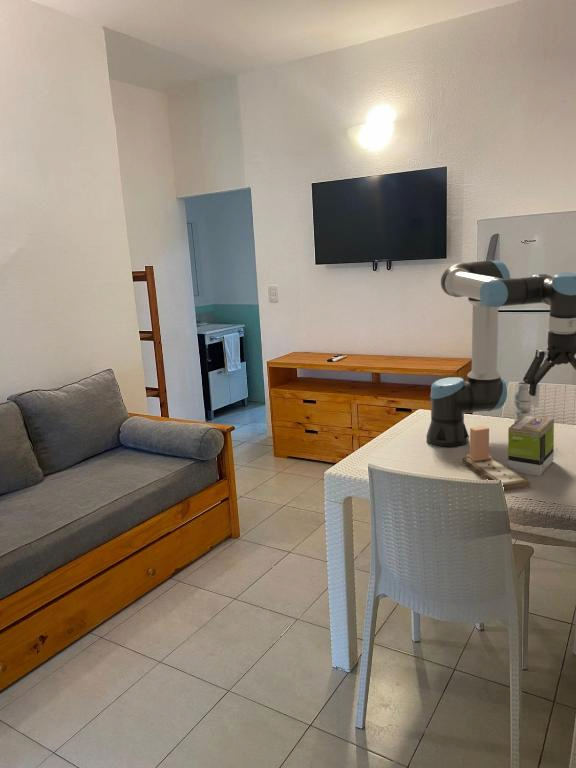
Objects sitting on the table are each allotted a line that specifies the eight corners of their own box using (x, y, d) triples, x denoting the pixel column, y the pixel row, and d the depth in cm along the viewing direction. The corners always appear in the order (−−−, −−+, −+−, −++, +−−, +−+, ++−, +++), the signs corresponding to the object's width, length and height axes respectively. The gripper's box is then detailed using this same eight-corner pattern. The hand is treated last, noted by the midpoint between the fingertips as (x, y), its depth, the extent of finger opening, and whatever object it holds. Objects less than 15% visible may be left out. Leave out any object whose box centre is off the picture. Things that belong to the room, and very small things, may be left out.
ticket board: (462, 463, 192) (462, 456, 191) (487, 460, 193) (487, 453, 193) (501, 491, 169) (501, 483, 168) (529, 487, 170) (529, 479, 170)
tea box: (522, 456, 195) (523, 414, 191) (554, 461, 188) (555, 418, 185) (507, 470, 183) (507, 426, 180) (540, 476, 177) (541, 431, 174)
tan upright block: (467, 456, 191) (467, 427, 189) (483, 453, 192) (484, 425, 190) (474, 461, 186) (474, 431, 184) (491, 458, 187) (492, 429, 185)
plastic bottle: (535, 435, 214) (537, 383, 210) (524, 439, 210) (526, 386, 206) (520, 431, 219) (521, 380, 215) (509, 435, 216) (510, 383, 211)
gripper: (527, 339, 153) (522, 412, 160) (615, 329, 155) (606, 402, 162) (513, 332, 160) (509, 403, 167) (597, 323, 162) (590, 393, 169)
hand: (557, 403), depth 164 cm, fingers open, 13 cm apart
